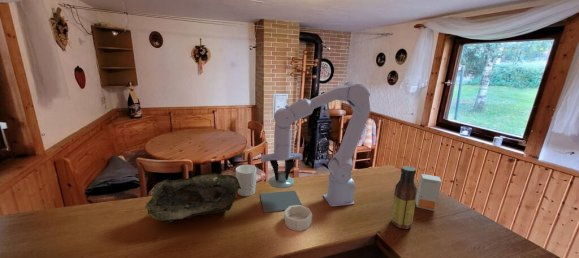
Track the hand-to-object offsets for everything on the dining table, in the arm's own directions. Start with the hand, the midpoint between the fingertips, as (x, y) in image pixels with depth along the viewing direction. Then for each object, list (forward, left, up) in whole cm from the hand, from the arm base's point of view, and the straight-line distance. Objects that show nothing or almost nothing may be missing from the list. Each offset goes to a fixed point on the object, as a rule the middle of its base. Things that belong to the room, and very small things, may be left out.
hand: (281, 178), depth 86 cm
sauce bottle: (-36, +20, -9) cm, 42 cm away
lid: (0, 0, -1) cm, 1 cm away
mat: (0, 0, -9) cm, 9 cm away
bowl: (-3, +13, -9) cm, 16 cm away
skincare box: (-52, +13, -9) cm, 54 cm away
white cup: (+12, -9, -9) cm, 18 cm away
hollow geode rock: (+28, +3, -10) cm, 30 cm away
